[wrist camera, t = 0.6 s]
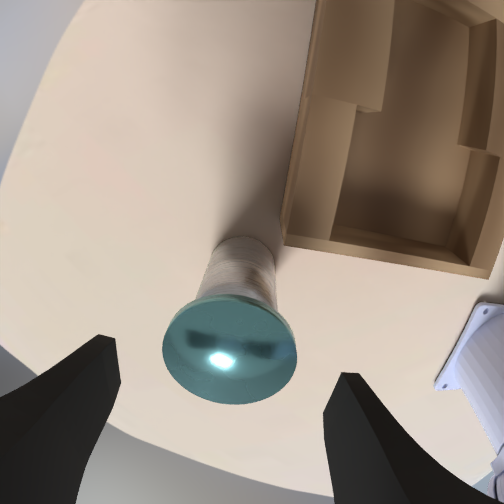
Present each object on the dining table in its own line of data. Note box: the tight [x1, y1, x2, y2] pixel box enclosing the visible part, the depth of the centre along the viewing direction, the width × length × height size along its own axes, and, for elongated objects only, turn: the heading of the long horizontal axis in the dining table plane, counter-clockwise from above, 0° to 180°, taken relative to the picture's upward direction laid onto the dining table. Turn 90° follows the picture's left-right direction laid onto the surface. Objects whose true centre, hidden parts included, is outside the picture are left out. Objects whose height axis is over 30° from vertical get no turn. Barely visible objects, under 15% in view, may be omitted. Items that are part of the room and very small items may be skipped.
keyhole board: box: [280, 0, 504, 279], centre depth 12 cm, size 11×15×4 cm
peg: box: [162, 236, 297, 404], centre depth 14 cm, size 5×5×8 cm
